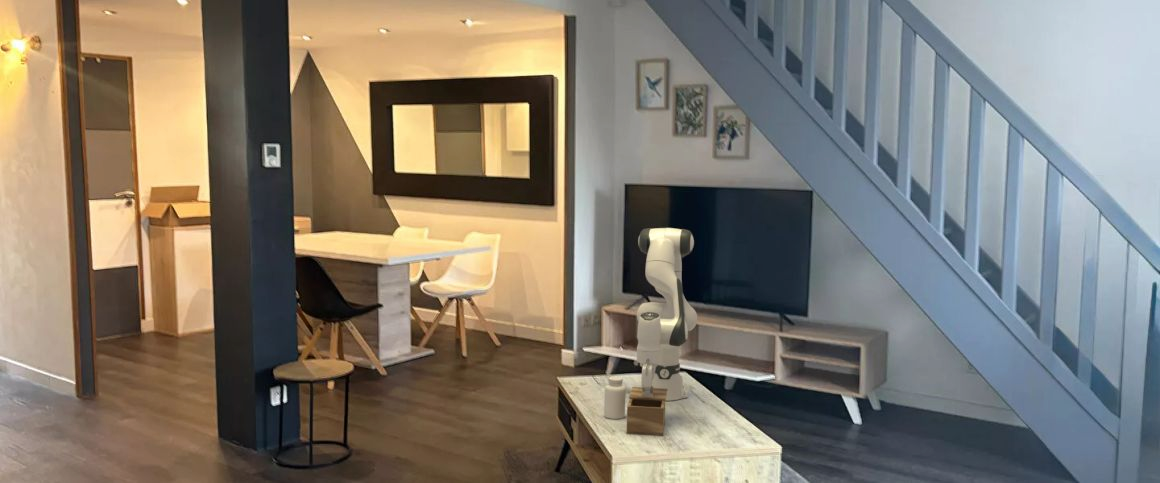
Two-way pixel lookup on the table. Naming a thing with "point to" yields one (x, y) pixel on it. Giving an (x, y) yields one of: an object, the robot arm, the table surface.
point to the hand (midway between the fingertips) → (647, 393)
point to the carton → (645, 417)
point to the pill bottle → (614, 399)
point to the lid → (654, 395)
